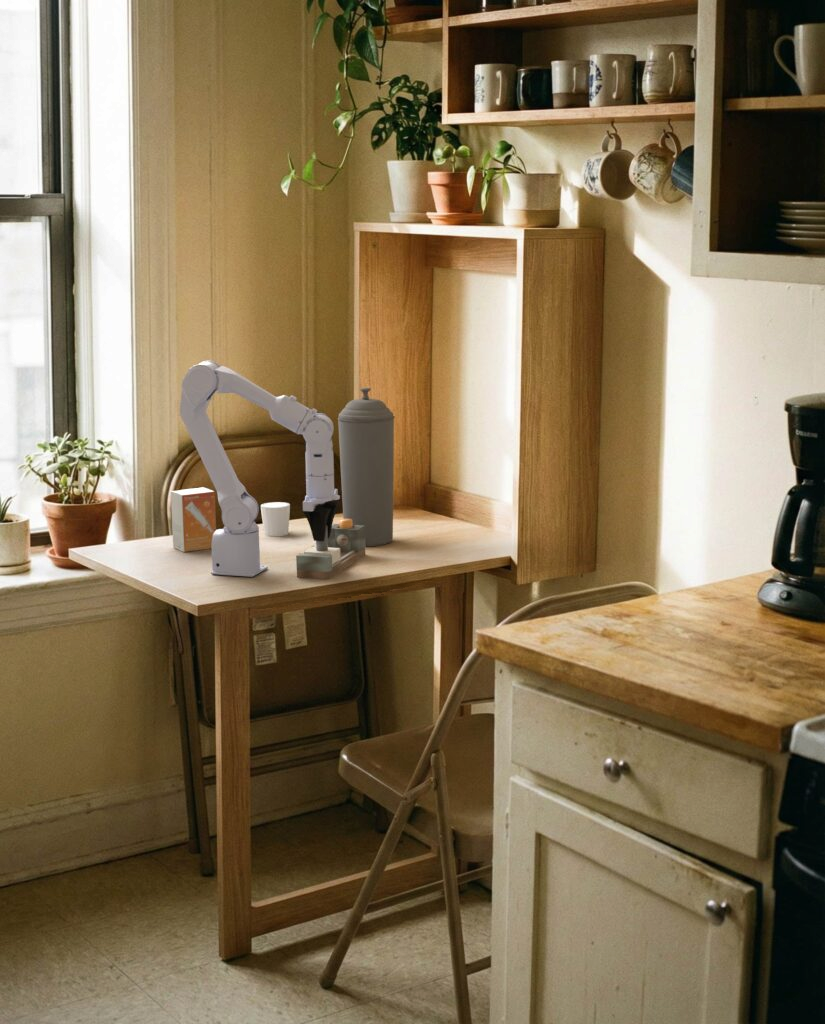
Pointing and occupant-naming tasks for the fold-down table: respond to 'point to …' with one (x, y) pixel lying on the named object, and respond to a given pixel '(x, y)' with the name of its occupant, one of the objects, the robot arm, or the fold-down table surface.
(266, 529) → the white tapered cylinder
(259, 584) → the fold-down table surface
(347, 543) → the rail base
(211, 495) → the small box
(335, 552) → the carriage
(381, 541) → the canister
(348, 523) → the button
